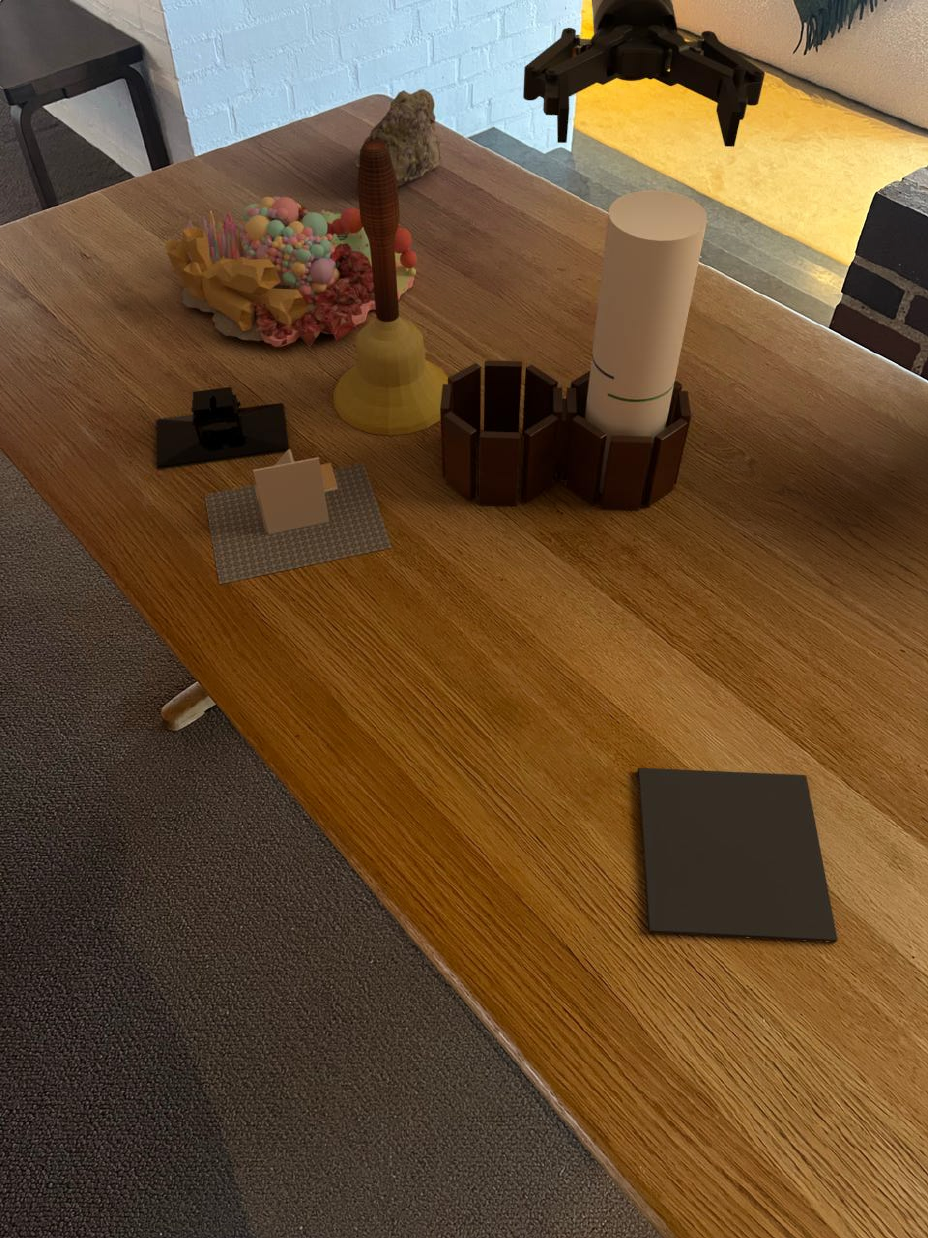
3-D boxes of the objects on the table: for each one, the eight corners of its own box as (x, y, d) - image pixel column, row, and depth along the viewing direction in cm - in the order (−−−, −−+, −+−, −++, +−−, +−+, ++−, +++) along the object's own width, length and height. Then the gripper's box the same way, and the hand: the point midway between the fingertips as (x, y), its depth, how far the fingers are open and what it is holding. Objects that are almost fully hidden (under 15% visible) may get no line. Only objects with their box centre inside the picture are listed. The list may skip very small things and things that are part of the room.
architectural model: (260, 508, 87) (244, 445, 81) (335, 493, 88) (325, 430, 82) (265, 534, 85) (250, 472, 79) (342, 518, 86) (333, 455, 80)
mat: (804, 778, 69) (806, 774, 69) (835, 943, 62) (838, 940, 61) (637, 770, 70) (638, 767, 69) (648, 933, 62) (649, 930, 62)
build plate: (157, 470, 90) (144, 431, 86) (157, 420, 95) (144, 382, 91) (289, 451, 91) (281, 412, 88) (283, 403, 96) (275, 364, 92)
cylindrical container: (616, 434, 93) (654, 180, 73) (671, 472, 89) (727, 216, 70) (563, 466, 90) (588, 211, 70) (618, 507, 86) (660, 251, 67)
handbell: (456, 358, 100) (453, 110, 81) (452, 436, 93) (448, 183, 73) (339, 356, 101) (307, 109, 81) (325, 434, 93) (287, 182, 73)
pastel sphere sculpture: (312, 377, 98) (300, 297, 91) (143, 309, 106) (119, 230, 99) (442, 263, 112) (440, 185, 104) (283, 209, 119) (271, 134, 112)
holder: (669, 434, 93) (684, 365, 86) (679, 512, 86) (695, 443, 80) (447, 427, 93) (445, 358, 87) (439, 503, 87) (437, 435, 81)
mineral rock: (364, 204, 120) (356, 121, 112) (337, 166, 126) (328, 85, 119) (459, 183, 123) (458, 102, 115) (428, 147, 129) (425, 67, 122)
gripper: (757, 68, 93) (792, 176, 80) (500, 63, 94) (492, 169, 80) (777, -21, 87) (818, 81, 74) (502, -25, 88) (494, 74, 75)
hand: (648, 127), depth 77 cm, fingers open, 13 cm apart
